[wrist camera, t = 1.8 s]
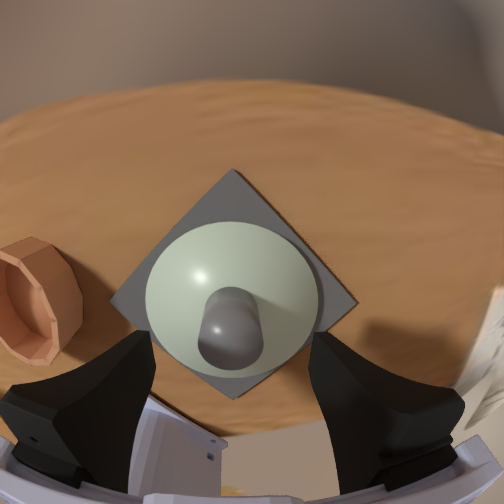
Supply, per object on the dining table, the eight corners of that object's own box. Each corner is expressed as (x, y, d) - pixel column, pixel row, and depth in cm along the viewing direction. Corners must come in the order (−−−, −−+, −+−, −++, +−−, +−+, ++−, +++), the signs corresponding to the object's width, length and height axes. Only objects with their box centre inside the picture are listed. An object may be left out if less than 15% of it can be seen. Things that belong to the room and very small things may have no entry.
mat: (354, 300, 17) (356, 303, 17) (232, 396, 19) (232, 400, 18) (232, 168, 14) (232, 168, 14) (111, 299, 16) (108, 301, 16)
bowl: (102, 298, 16) (77, 324, 13) (59, 357, 17) (39, 382, 14) (28, 215, 14) (-5, 224, 11) (-3, 287, 15) (-28, 303, 12)
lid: (346, 303, 17) (373, 336, 13) (233, 393, 18) (233, 437, 14) (231, 181, 14) (229, 182, 10) (118, 302, 16) (90, 336, 12)
